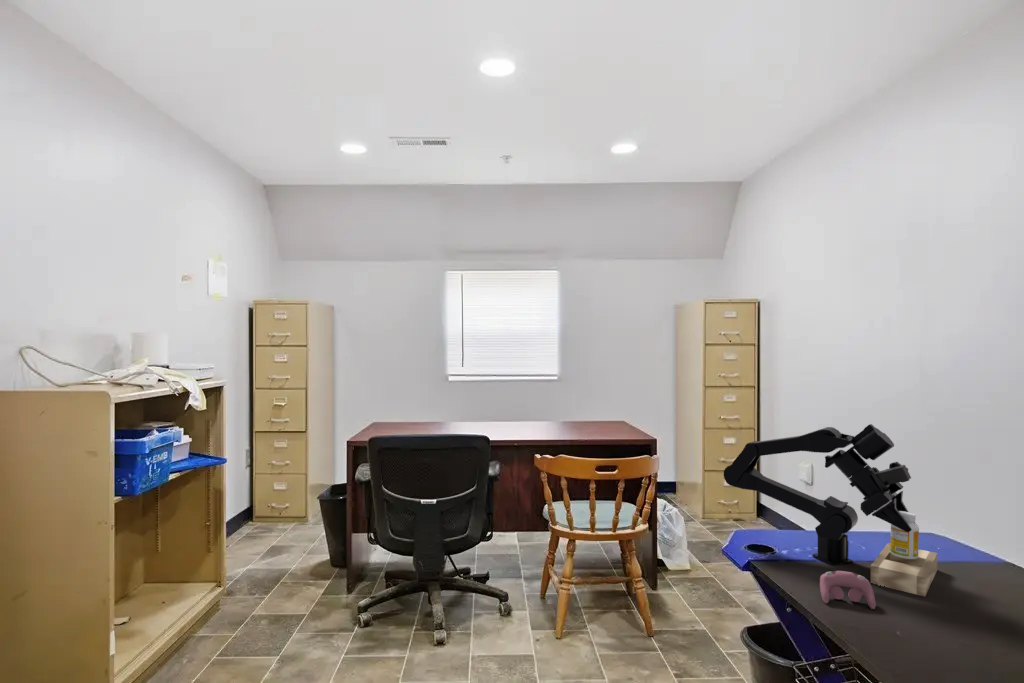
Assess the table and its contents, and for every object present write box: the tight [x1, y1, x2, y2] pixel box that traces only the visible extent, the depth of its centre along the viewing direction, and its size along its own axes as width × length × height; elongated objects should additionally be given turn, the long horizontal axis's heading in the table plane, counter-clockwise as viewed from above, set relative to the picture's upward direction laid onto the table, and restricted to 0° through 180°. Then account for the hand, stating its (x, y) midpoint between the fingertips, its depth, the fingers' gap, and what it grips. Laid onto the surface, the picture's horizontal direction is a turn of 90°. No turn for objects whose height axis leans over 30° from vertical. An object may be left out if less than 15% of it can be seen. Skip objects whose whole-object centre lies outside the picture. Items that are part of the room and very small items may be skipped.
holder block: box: [870, 542, 938, 597], centre depth 134 cm, size 10×20×4 cm, turn 138°
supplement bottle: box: [889, 511, 920, 559], centre depth 134 cm, size 5×5×10 cm
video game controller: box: [819, 570, 877, 610], centre depth 121 cm, size 10×5×7 cm, turn 72°
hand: (911, 528), depth 133 cm, fingers closed on supplement bottle, 5 cm apart
